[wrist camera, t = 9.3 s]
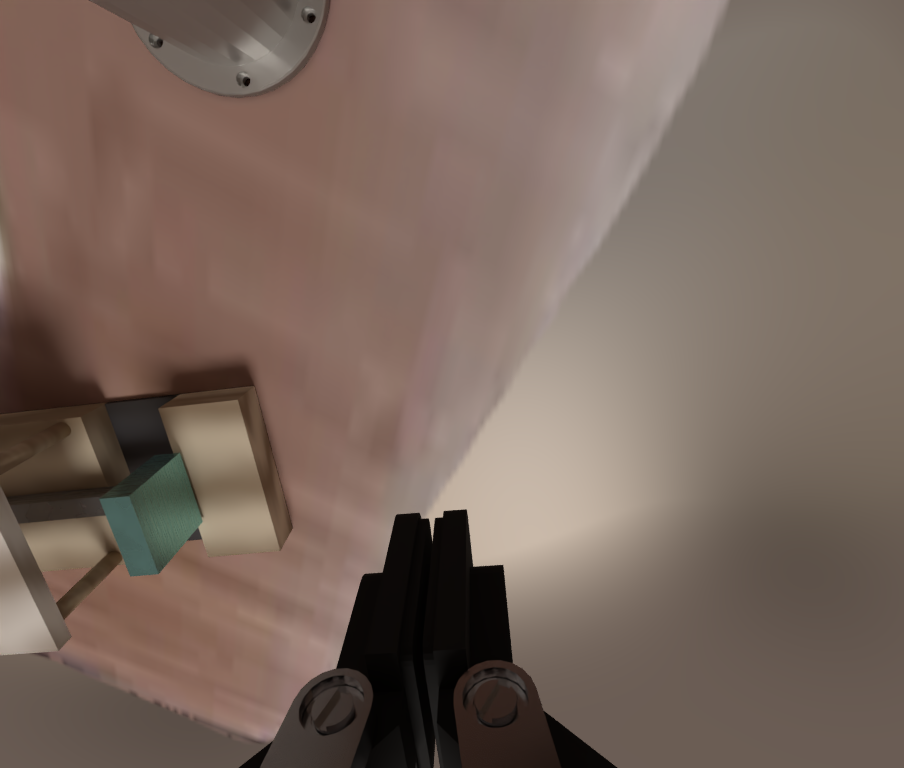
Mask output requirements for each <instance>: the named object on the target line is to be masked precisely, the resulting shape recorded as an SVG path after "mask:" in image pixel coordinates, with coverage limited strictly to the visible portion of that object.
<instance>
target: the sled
mask: <svg viewBox="0 0 904 768" xmlns="http://www.w3.org/2000/svg"><path fill="white" fill-rule="evenodd" d="M6 498H7V500H8V503H9V505H10V507H11V509H12V511H13V513H14V515H15V517H16V520H17V522H18V524H21V523H32V522H42V521H53V520H64V519H74V518H85V517H95V516H106V517H107V520H108V522H109V525H110V527H111V530H112V532H113V535H114V537H115V540H116V542H117V545H118V547H119V550H120V552H121V554H122V557H123V559H124V562H125V564H126V567H127V569H128V572H129V574H130V576H141V575H153V574H159V573H160V572H161V571H162V569H163V568H164V567H165V566H166V565H167V563H168V562H169V561H170V560H171V559H172V558H173V556H174V555H175V554H176V553H177V552H178V550H179V549H180V548H181V547H182V546H183V545H184V543H185V542H186V541H187V540H188V539H189V537H190V536H191V535H192V534H193V533H194V531H195V530H196V529H197V528H198V527H199V526H200V524H201V523H202V522H203V521H202V518H201V515H200V512H199V509H198V506H197V503H196V500H195V497H194V494H193V491H192V488H191V485H190V482H189V479H188V476H187V473H186V470H185V467H184V464H183V461H182V458H181V455H180V453H172V454H162V455H154V456H153V457H151V458H150V459H149V460H148V461H146V462H145V463H144V464H143V465H141V466H140V467H139V468H138V469H136V470H135V471H134V472H133V473H131V474H130V475H129V476H128V477H126V478H125V479H124V480H122V481H121V482H120V483H119V484H117V485H116V486H110V487H100V488H90V489H80V490H70V491H60V492H49V493H39V494H29V495H19V496H9V497H6Z"/></svg>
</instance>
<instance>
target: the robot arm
mask: <svg viewBox="0 0 904 768" xmlns="http://www.w3.org/2000/svg"><path fill="white" fill-rule="evenodd" d="M89 1H91V2H93V3H95V4H97V5H98V6H100V7H102V8H104V9H106V10H108V11H110V12H112V13H113V14H115V15H117V16H119V17H121V18H123V19H125V20H127V21H128V22H130V23H131V24H132V26H133V28H134V30H135V32H136V33H137V35H138V37H139V38H140V39H141V41H142V42H143V43H144V45H145V46H146V47H147V49H148V50H149V51H150V53H151V54H152V55H153V56H154V57H155V58H156V59H157V60H158V61H159V62H160V63H161V64H162V65H163V66H164V67H165V68H167V69H168V70H169V71H170V72H172V73H173V74H175V75H176V76H178V77H179V78H180V79H182V80H183V81H185V82H187V83H189V84H191V85H193V86H195V87H197V88H199V89H201V90H204V91H207V92H210V93H213V94H216V95H219V96H227V97H235V98H243V97H253V96H259V95H262V94H265V93H268V92H271V91H274V90H276V89H277V88H279V87H280V86H282V85H284V84H285V83H287V82H289V81H290V80H291V79H292V78H293V77H294V76H295V75H296V74H298V73H299V72H300V71H301V70H302V69H303V68H304V67H305V65H306V64H307V62H308V61H309V59H310V58H311V56H312V55H313V53H314V52H315V50H316V48H317V46H318V43H319V41H320V39H321V37H322V34H323V32H324V28H325V24H326V20H327V16H328V12H329V3H330V0H89ZM312 15H314V16H316V19H315V21H314V22H313V23H310V22H309V18H310V16H312ZM162 41H163V45H162V47H161V42H162ZM248 78H250V84H249V86H246V80H247V79H248ZM435 738H436V744H437V751H438V757H439V763H440V768H617V767H616V766H614V765H613V764H612V763H610V762H609V761H608V760H607V759H605V758H604V757H603V756H601V755H600V754H599V753H597V752H596V751H595V750H594V749H592V748H591V747H590V746H589V745H587V744H586V743H584V742H583V741H582V740H581V739H579V738H578V737H577V736H576V735H574V734H573V733H572V732H570V731H569V730H568V729H567V728H565V727H564V726H563V725H562V724H560V723H559V722H558V721H556V720H555V719H554V718H552V717H551V716H550V715H548V714H547V713H546V712H545V711H543V708H542V704H541V701H540V698H539V695H538V692H537V688H536V686H535V684H534V682H533V680H532V678H531V677H530V676H529V675H528V674H527V673H526V672H525V671H524V670H523V669H522V668H520V667H518V666H517V665H515V664H513V660H512V650H511V639H510V629H509V619H508V609H507V598H506V588H505V578H504V568H503V565H495V566H479V567H473V561H472V553H471V543H470V533H469V524H468V515H467V510H453V511H444V513H443V518H435V524H434V534H433V543H432V536H431V529H430V522H429V519H421V516H420V513H411V514H397V515H396V517H395V521H394V525H393V530H392V534H391V538H390V543H389V547H388V552H387V556H386V560H385V565H384V569H383V573H371V574H364V575H363V577H362V579H361V582H360V586H359V589H358V593H357V596H356V600H355V604H354V607H353V611H352V614H351V618H350V622H349V625H348V629H347V632H346V636H345V639H344V643H343V647H342V650H341V654H340V657H339V661H338V665H337V668H336V669H333V670H330V671H327V672H324V673H322V674H320V675H318V676H317V677H315V678H313V679H312V680H310V681H309V682H308V683H307V684H306V685H305V686H304V687H303V688H302V689H301V690H300V692H299V693H298V695H297V696H296V698H295V699H294V701H293V703H292V705H291V707H290V709H289V711H288V713H287V715H286V717H285V719H284V721H283V723H282V725H281V727H280V729H279V731H278V733H277V734H276V736H275V738H274V740H273V741H272V742H271V743H270V744H268V745H267V746H266V747H265V748H264V749H262V750H261V751H260V752H258V753H257V754H256V755H254V756H253V757H252V758H251V759H249V760H248V761H247V762H246V763H244V764H243V765H242V766H240V767H239V768H433V767H434V752H435V751H434V750H435Z"/></svg>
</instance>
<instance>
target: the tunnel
mask: <svg viewBox="0 0 904 768" xmlns="http://www.w3.org/2000/svg"><path fill="white" fill-rule="evenodd" d="M172 453H180V455H181V458H182V461H183V464H184V467H185V470H186V473H187V476H188V479H189V482H190V485H191V488H192V491H193V494H194V497H195V500H196V503H197V506H198V509H199V512H200V515H201V518H202V521H203V522H202V523H201V524H200V526H199V527H198V528H197V529H196V530H195V531H194V533H193V534H192V535H191V536H190V537H189V539H188V540H199V539H202V540H203V543H204V546H205V549H206V552H207V555H208V557H215V556H227V555H238V554H250V553H262V552H273V551H280V550H281V549H282V547H283V545H284V543H285V541H286V540H287V538H288V536H289V534H290V532H291V530H292V529H293V528H292V525H291V521H290V517H289V513H288V510H287V506H286V502H285V498H284V495H283V491H282V487H281V484H280V480H279V476H278V472H277V469H276V465H275V461H274V457H273V454H272V450H271V446H270V442H269V439H268V435H267V431H266V428H265V424H264V420H263V416H262V413H261V409H260V405H259V401H258V398H257V394H256V390H255V386H248V387H239V388H231V389H222V390H213V391H204V392H195V393H186V394H177V395H168V396H159V397H150V398H141V399H132V400H123V401H114V402H105V403H96V404H87V405H79V406H70V407H61V408H52V409H43V410H34V411H25V412H16V413H7V414H0V655H9V654H24V653H37V652H51V651H59V650H60V649H61V648H62V647H63V645H64V644H65V643H66V642H67V641H68V640H69V639H70V638H71V637H72V636H71V634H70V632H69V630H68V628H67V626H66V624H65V622H64V619H65V618H66V617H67V616H68V615H69V614H70V613H71V612H72V611H73V610H74V609H75V608H76V607H77V606H78V605H79V604H80V603H81V602H82V601H83V600H84V599H85V598H86V597H87V596H88V595H89V594H90V593H91V592H92V591H93V590H94V589H95V588H96V587H97V586H98V585H99V584H100V583H101V581H102V580H103V579H104V578H105V577H106V576H107V575H108V574H109V573H110V572H111V571H112V570H113V569H114V568H115V567H116V566H117V565H123V564H125V562H124V559H123V557H122V554H121V552H120V550H119V547H118V545H117V542H116V540H115V537H114V535H113V532H112V530H111V527H110V525H109V522H108V520H107V517H106V516H95V517H85V518H74V519H64V520H53V521H42V522H32V523H21V524H18V522H17V520H16V517H15V515H14V513H13V511H12V509H11V507H10V505H9V503H8V500H7V498H6V497H9V496H19V495H29V494H39V493H49V492H60V491H70V490H80V489H90V488H100V487H110V486H116V485H117V484H119V483H120V482H121V481H122V480H124V479H125V478H126V477H128V476H129V475H130V474H131V473H133V472H134V471H135V470H136V469H138V468H139V467H140V466H141V465H143V464H144V463H145V462H146V461H148V460H149V459H150V458H151V457H153V456H154V455H162V454H172ZM188 540H187V541H188ZM89 567H93V568H92V569H91V570H90V571H89V572H88V573H87V574H86V575H85V576H84V577H83V578H82V579H81V580H80V581H79V582H77V583H76V584H75V585H74V586H73V587H72V588H71V589H70V590H69V591H68V592H67V593H66V594H65V595H64V596H63V597H62V598H61V599H60V600H59V601H58V602H57V603H56V602H55V600H54V598H53V596H52V594H51V592H50V590H49V588H48V585H47V583H46V581H45V579H44V577H43V575H42V573H41V572H43V571H54V570H66V569H77V568H89Z"/></svg>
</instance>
